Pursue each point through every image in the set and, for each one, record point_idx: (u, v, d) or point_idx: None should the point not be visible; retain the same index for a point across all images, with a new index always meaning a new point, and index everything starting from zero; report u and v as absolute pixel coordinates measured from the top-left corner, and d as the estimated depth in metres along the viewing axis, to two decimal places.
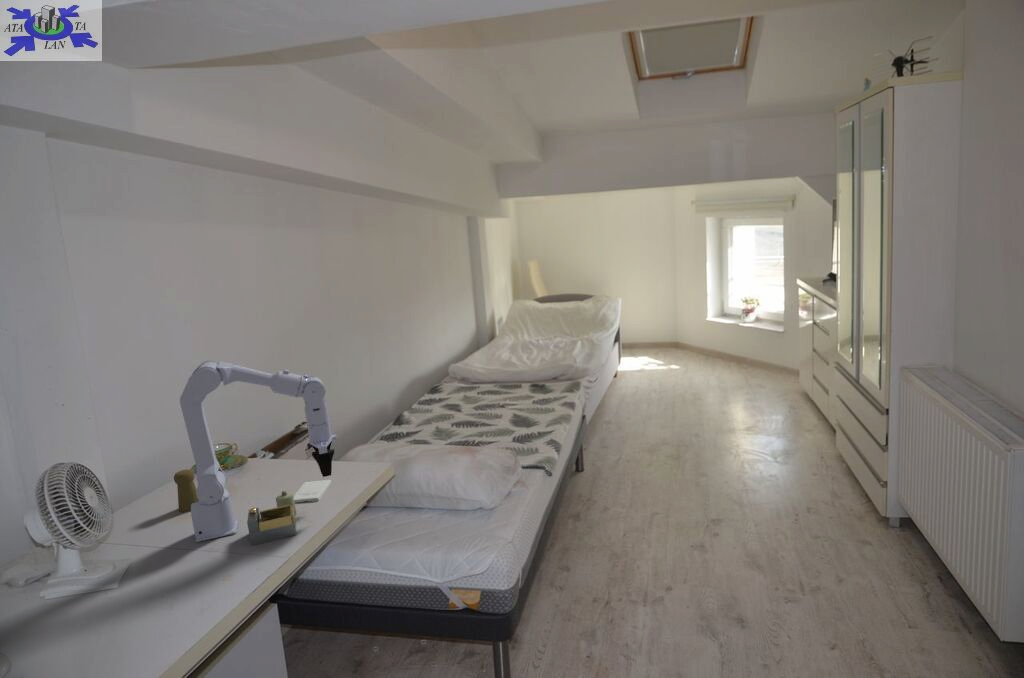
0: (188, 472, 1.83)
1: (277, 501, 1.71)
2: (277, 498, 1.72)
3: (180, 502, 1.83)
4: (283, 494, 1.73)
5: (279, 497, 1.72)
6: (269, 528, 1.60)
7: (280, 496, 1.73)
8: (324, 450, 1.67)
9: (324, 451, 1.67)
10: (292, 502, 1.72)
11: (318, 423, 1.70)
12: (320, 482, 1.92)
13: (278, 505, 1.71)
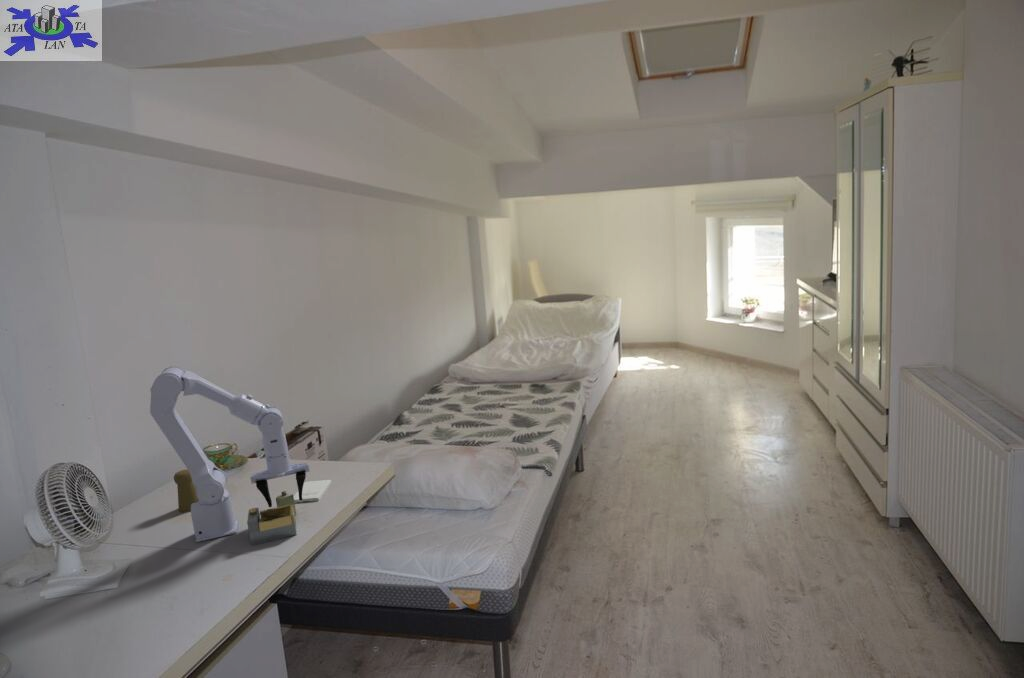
0: (188, 472, 1.83)
1: (277, 501, 1.71)
2: (277, 498, 1.72)
3: (180, 502, 1.83)
4: (283, 494, 1.73)
5: (279, 497, 1.72)
6: (269, 528, 1.60)
7: (280, 496, 1.73)
8: (251, 480, 1.69)
9: None
10: (292, 502, 1.72)
11: (276, 455, 1.67)
12: (320, 482, 1.92)
13: (278, 505, 1.71)
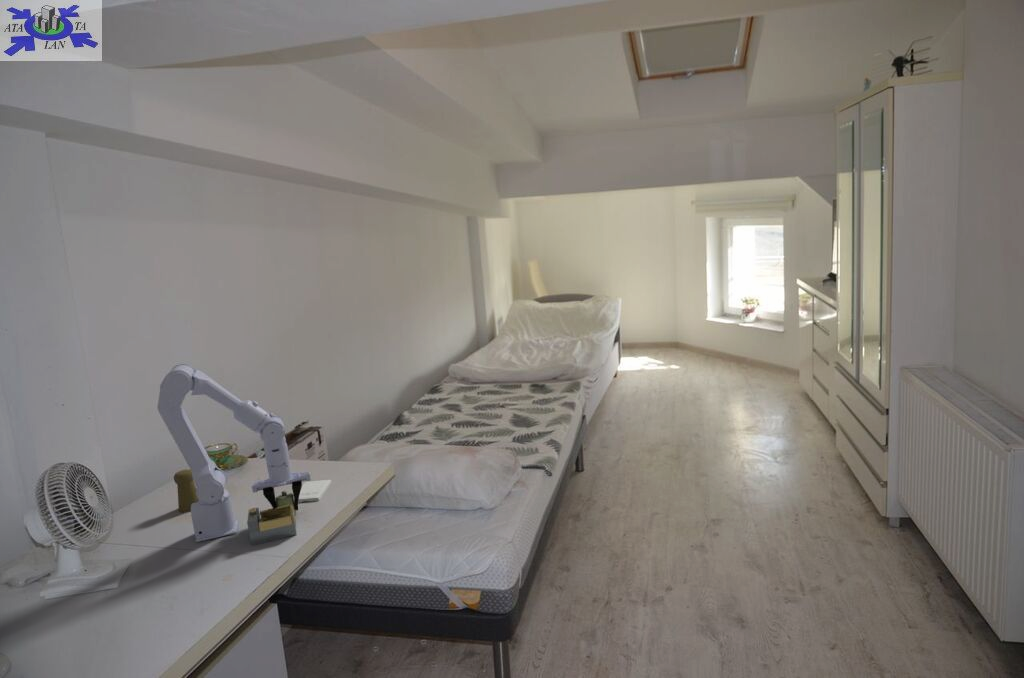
0: (188, 472, 1.83)
1: (277, 501, 1.71)
2: (277, 498, 1.72)
3: (180, 502, 1.83)
4: (283, 494, 1.73)
5: (279, 497, 1.72)
6: (269, 528, 1.60)
7: (280, 496, 1.73)
8: None
9: (253, 490, 1.69)
10: (292, 502, 1.72)
11: (277, 464, 1.68)
12: (320, 482, 1.92)
13: (278, 505, 1.71)
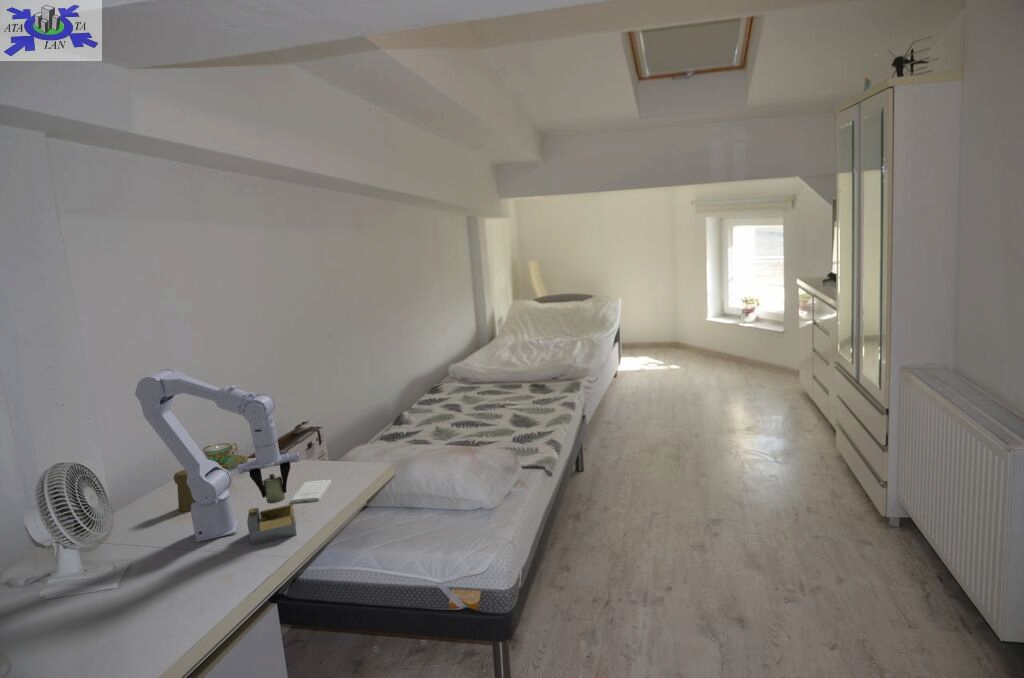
0: None
1: (264, 484, 1.64)
2: (264, 481, 1.65)
3: (180, 502, 1.83)
4: (271, 477, 1.66)
5: (267, 480, 1.66)
6: (269, 528, 1.60)
7: (268, 479, 1.66)
8: None
9: (239, 471, 1.62)
10: (280, 485, 1.65)
11: (260, 445, 1.61)
12: (320, 482, 1.92)
13: (265, 488, 1.64)
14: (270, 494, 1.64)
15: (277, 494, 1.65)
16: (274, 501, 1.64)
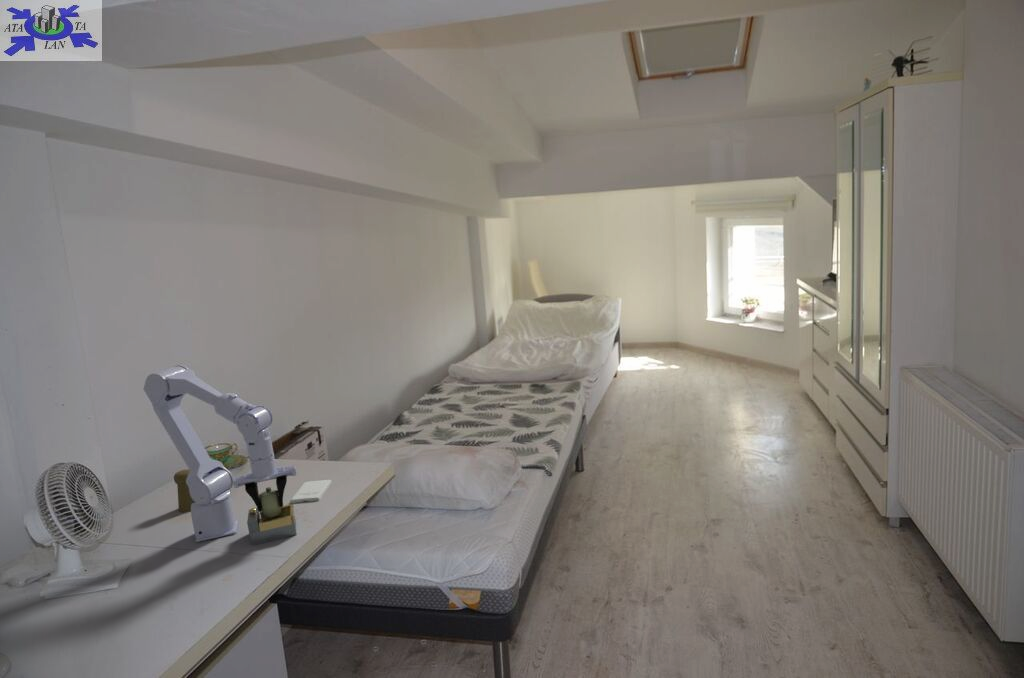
0: (188, 472, 1.83)
1: (260, 497, 1.61)
2: (261, 494, 1.62)
3: (180, 502, 1.83)
4: (267, 490, 1.63)
5: (263, 493, 1.62)
6: (269, 528, 1.60)
7: (264, 492, 1.63)
8: (234, 484, 1.59)
9: None
10: (276, 499, 1.62)
11: (253, 458, 1.58)
12: (320, 482, 1.92)
13: (261, 502, 1.61)
14: (266, 508, 1.61)
15: (273, 508, 1.61)
16: (270, 515, 1.61)
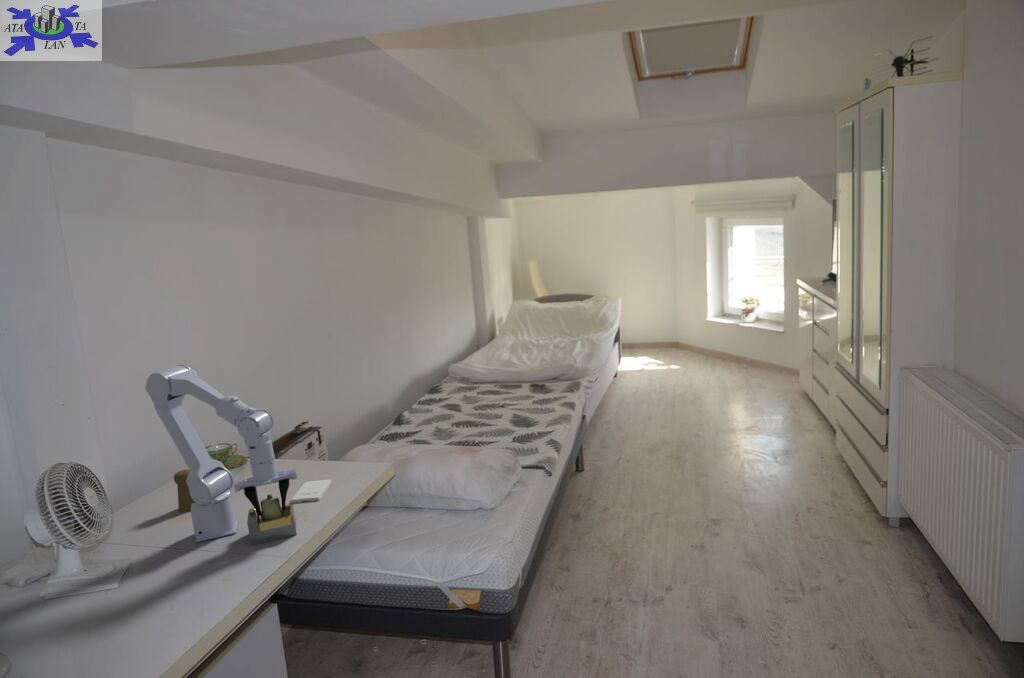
0: (188, 472, 1.83)
1: (261, 505, 1.61)
2: (262, 502, 1.62)
3: (180, 502, 1.83)
4: (268, 497, 1.63)
5: (264, 501, 1.63)
6: (269, 528, 1.60)
7: (265, 499, 1.63)
8: None
9: None
10: (277, 506, 1.62)
11: (254, 462, 1.58)
12: (321, 482, 1.92)
13: (262, 509, 1.61)
14: (267, 516, 1.61)
15: (274, 515, 1.62)
16: None
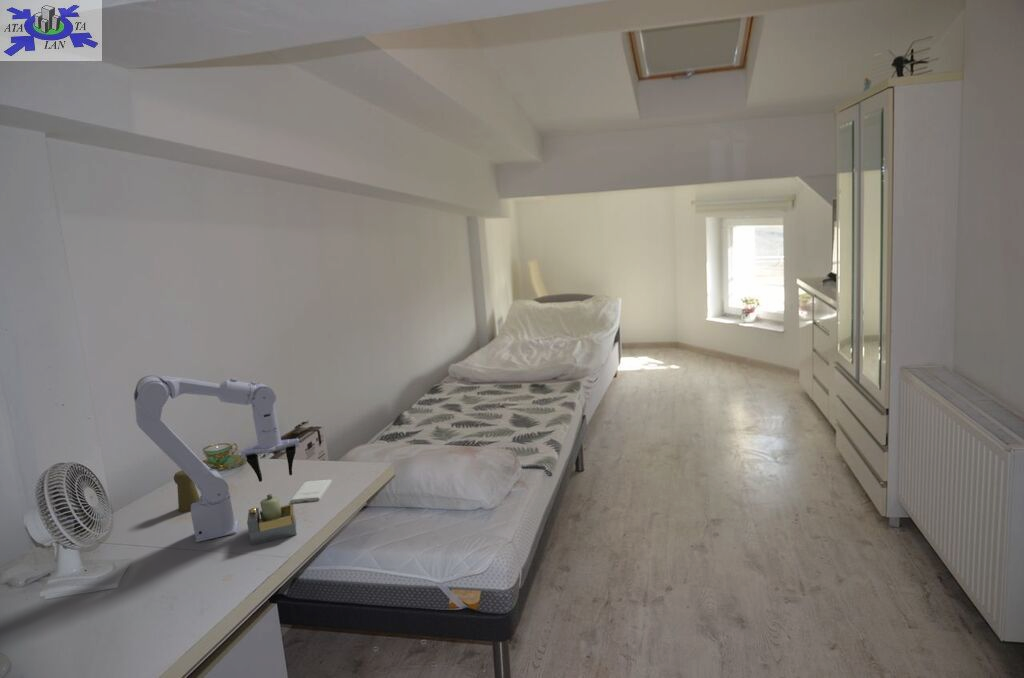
0: None
1: (261, 505, 1.61)
2: (262, 502, 1.62)
3: (180, 502, 1.83)
4: (268, 497, 1.63)
5: (264, 501, 1.63)
6: (269, 528, 1.60)
7: (265, 499, 1.63)
8: None
9: (242, 455, 1.71)
10: (277, 506, 1.62)
11: (269, 429, 1.70)
12: (321, 482, 1.92)
13: (262, 509, 1.61)
14: (267, 516, 1.61)
15: (274, 515, 1.62)
16: None
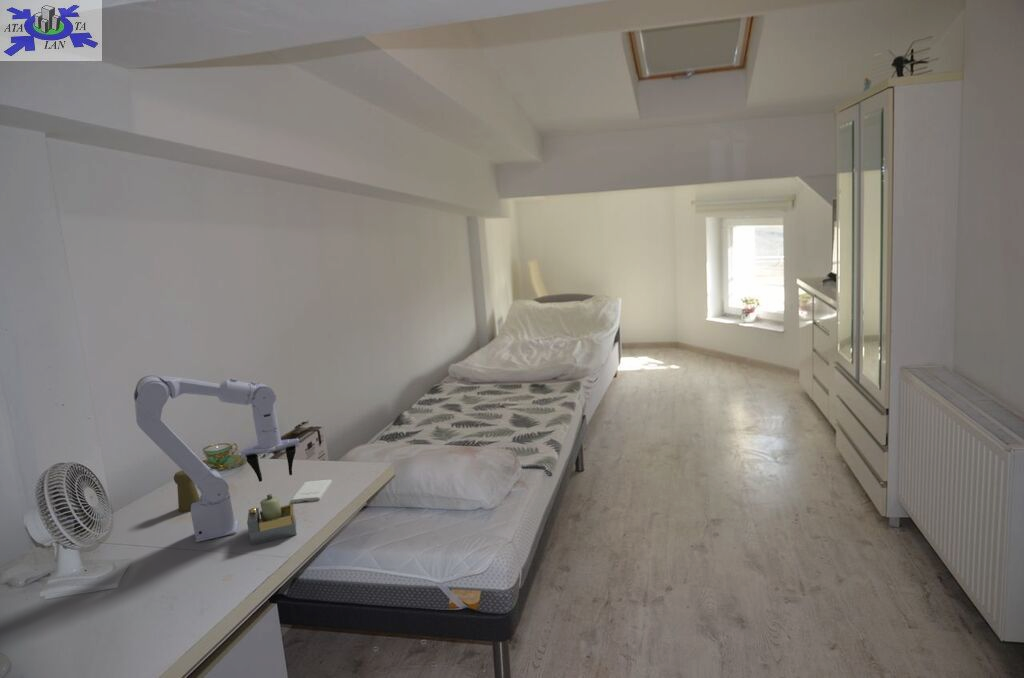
0: None
1: (261, 505, 1.61)
2: (262, 502, 1.62)
3: (180, 502, 1.83)
4: (268, 497, 1.63)
5: (264, 501, 1.63)
6: (269, 528, 1.60)
7: (265, 499, 1.63)
8: None
9: None
10: (277, 506, 1.62)
11: (269, 429, 1.70)
12: (321, 482, 1.92)
13: (262, 509, 1.61)
14: (267, 516, 1.61)
15: (274, 515, 1.62)
16: None
